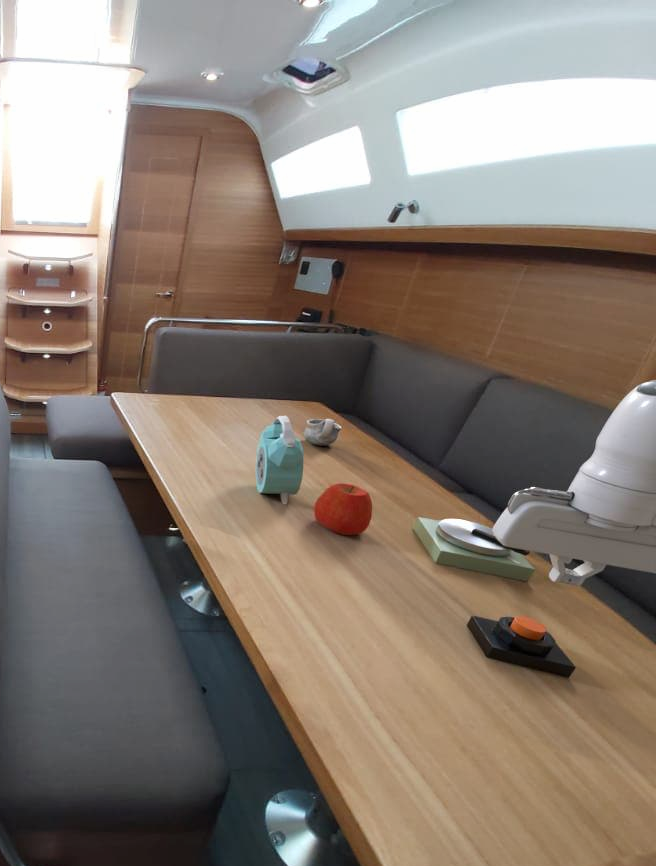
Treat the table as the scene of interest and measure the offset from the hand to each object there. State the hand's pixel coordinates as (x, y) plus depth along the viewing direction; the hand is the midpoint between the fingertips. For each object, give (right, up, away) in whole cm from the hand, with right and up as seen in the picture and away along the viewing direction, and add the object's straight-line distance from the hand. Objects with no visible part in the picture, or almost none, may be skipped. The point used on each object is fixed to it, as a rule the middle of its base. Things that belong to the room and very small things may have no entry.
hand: (563, 581), depth 73 cm
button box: (-1, -12, +6) cm, 13 cm away
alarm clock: (-15, +12, +54) cm, 58 cm away
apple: (-8, +4, +39) cm, 40 cm away
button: (-1, -9, +4) cm, 10 cm away
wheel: (+14, +2, +29) cm, 33 cm away
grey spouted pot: (+17, +26, +87) cm, 92 cm away
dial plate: (+14, 0, +32) cm, 35 cm away
